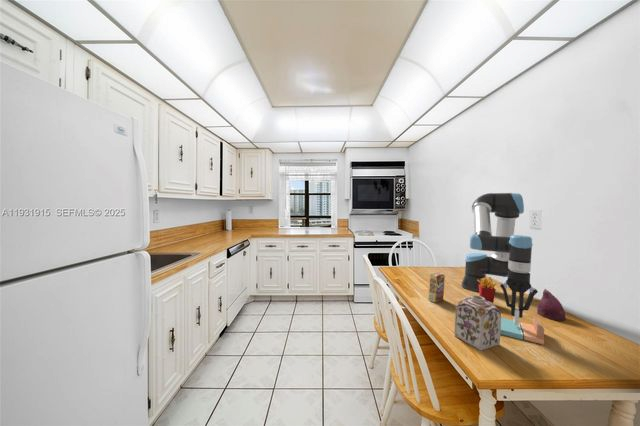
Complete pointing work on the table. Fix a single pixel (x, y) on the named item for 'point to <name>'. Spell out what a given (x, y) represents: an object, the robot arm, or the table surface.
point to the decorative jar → (478, 322)
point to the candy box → (436, 287)
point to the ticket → (511, 329)
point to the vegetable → (550, 307)
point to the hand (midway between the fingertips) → (516, 323)
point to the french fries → (487, 289)
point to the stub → (533, 331)
